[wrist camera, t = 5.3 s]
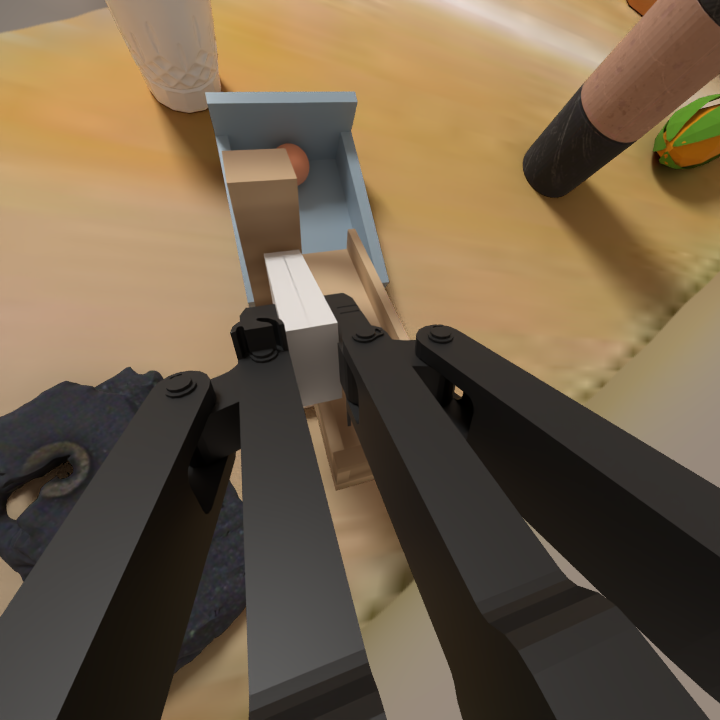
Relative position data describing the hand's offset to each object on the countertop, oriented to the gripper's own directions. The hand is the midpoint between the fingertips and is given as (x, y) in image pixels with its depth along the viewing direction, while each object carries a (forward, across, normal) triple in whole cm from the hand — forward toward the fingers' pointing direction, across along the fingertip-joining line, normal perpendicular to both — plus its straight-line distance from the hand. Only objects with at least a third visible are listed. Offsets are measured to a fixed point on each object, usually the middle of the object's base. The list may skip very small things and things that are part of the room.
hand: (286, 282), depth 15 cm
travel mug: (+24, +35, 0) cm, 42 cm away
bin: (+20, +4, -3) cm, 21 cm away
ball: (+22, +4, +2) cm, 22 cm away
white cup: (+32, -5, +8) cm, 33 cm away
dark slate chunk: (+5, -14, -20) cm, 25 cm away
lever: (+4, +4, -6) cm, 9 cm away
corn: (+26, +59, +1) cm, 64 cm away
